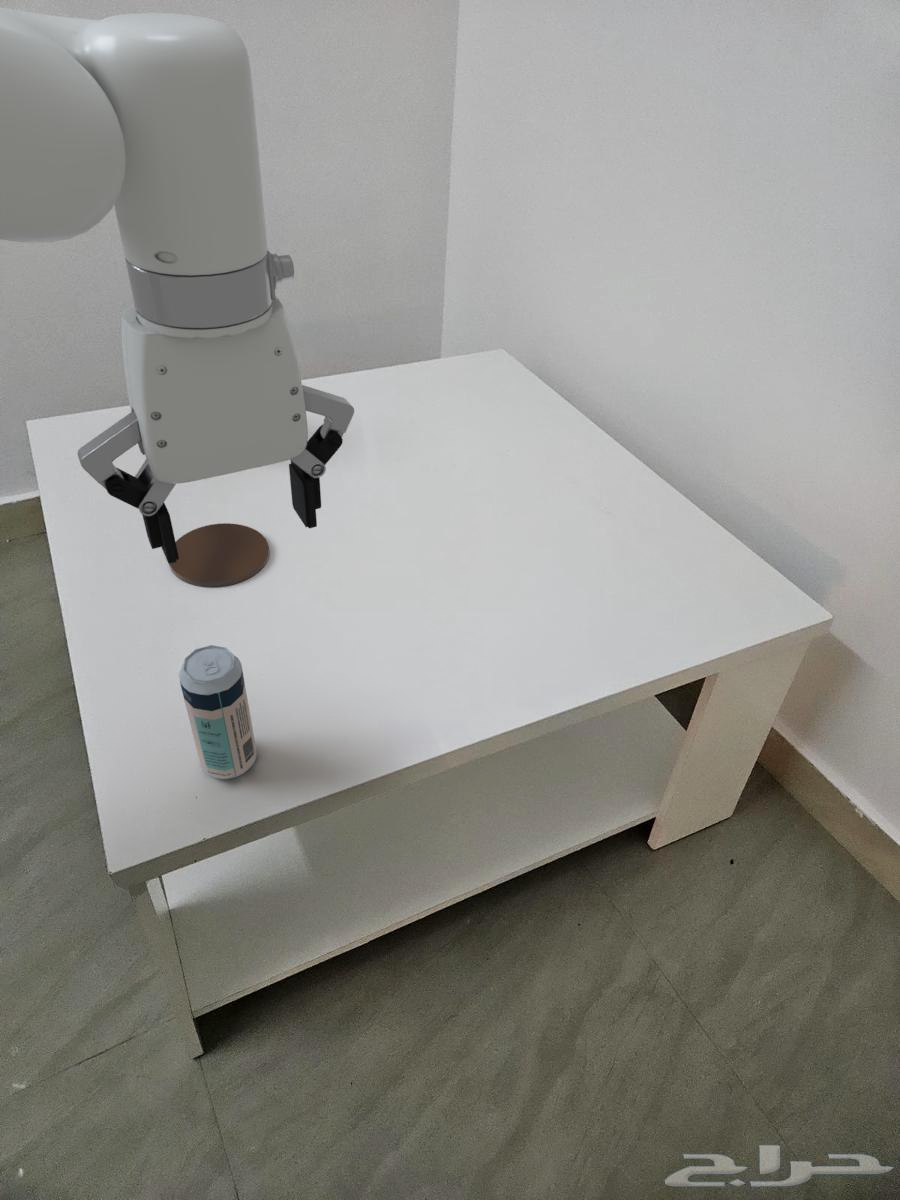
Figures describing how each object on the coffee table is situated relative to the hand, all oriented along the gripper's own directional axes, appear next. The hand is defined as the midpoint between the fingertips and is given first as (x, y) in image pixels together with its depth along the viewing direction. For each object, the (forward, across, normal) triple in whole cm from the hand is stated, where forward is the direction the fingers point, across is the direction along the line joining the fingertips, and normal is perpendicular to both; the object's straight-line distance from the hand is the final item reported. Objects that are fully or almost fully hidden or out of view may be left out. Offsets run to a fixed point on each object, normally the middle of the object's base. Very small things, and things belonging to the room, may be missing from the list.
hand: (238, 534), depth 57 cm
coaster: (+24, -4, -29) cm, 37 cm away
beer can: (+24, +4, 0) cm, 24 cm away
